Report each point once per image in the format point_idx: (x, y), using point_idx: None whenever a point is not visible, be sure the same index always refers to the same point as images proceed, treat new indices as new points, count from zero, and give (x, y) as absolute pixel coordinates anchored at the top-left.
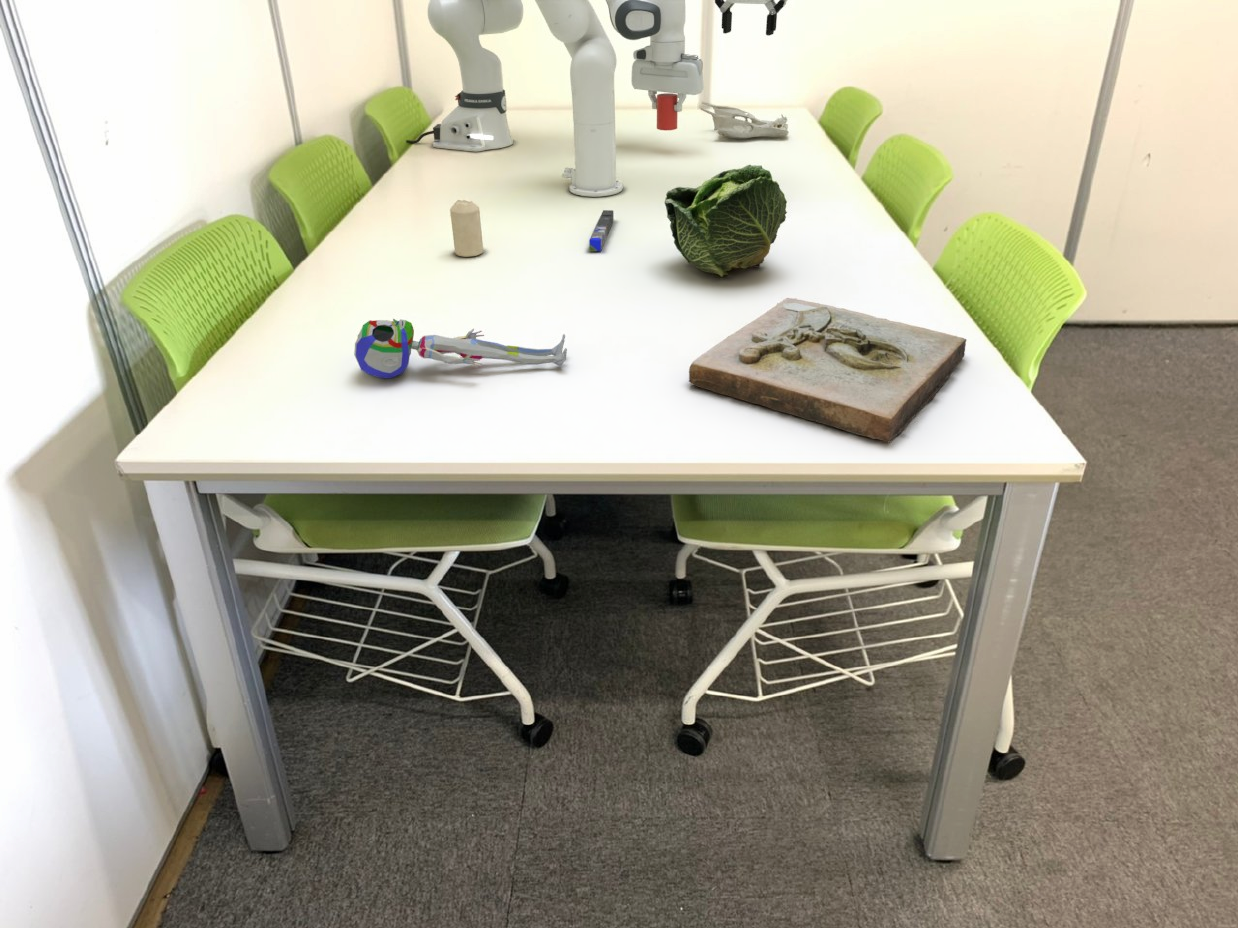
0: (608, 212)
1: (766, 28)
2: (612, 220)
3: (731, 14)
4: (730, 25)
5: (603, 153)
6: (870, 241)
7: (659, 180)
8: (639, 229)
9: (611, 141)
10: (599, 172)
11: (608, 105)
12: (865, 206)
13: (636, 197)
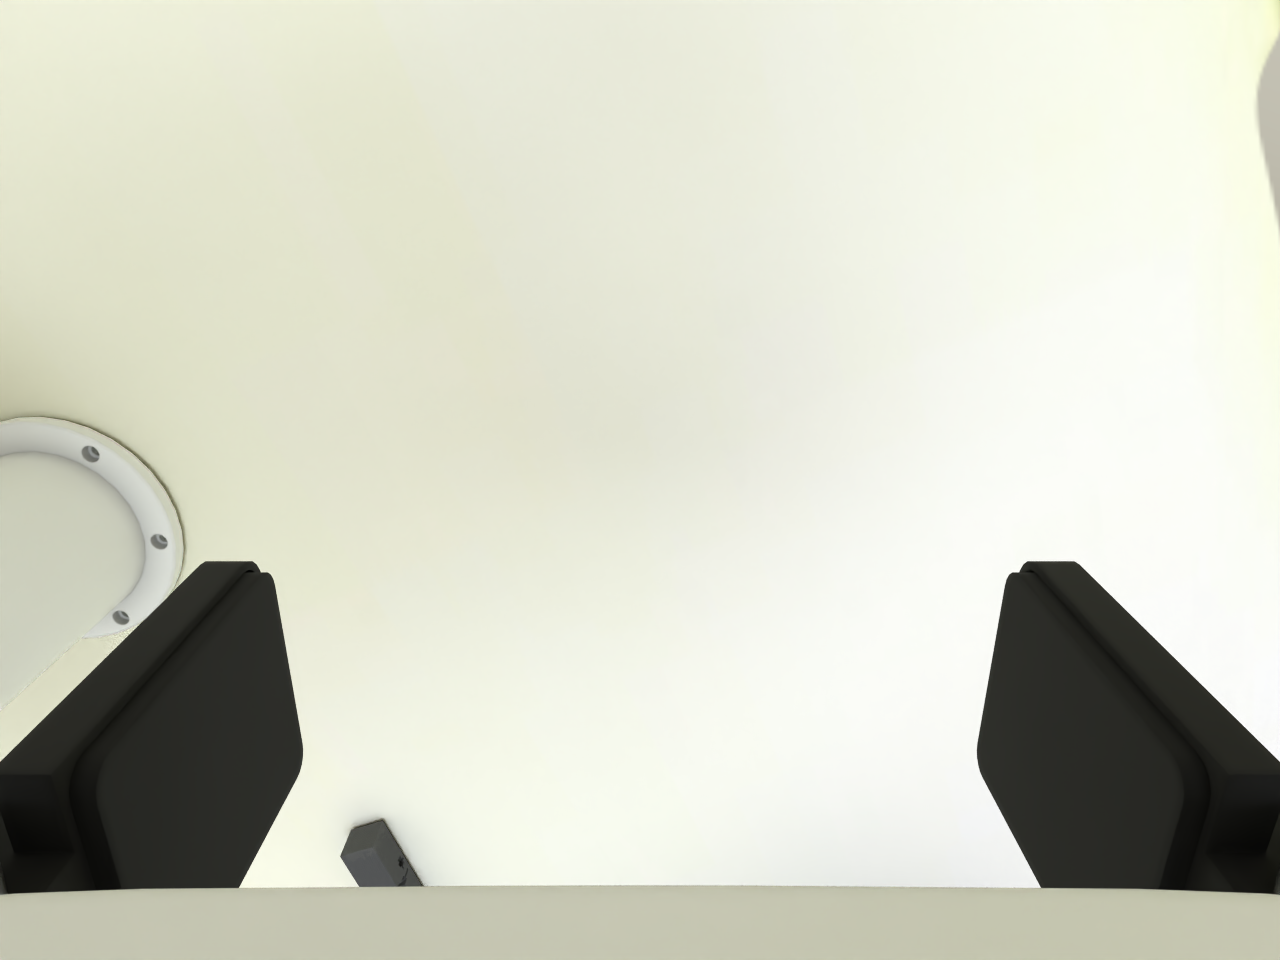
0: (371, 870)
1: (1018, 834)
2: (392, 846)
3: (119, 772)
4: (232, 663)
5: (38, 673)
6: (1266, 687)
7: (205, 260)
8: (503, 847)
9: (12, 658)
10: (80, 638)
11: None
12: (1254, 285)
13: (281, 550)
